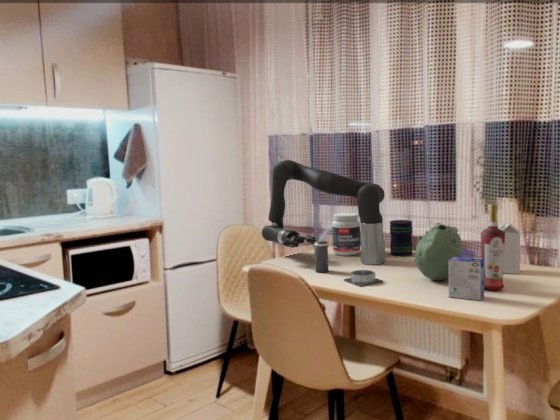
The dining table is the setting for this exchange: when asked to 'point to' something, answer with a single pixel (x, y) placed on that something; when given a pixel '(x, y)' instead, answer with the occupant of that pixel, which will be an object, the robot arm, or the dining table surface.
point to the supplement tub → (346, 234)
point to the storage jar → (401, 238)
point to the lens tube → (321, 256)
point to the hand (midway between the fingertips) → (306, 243)
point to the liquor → (493, 252)
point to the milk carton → (511, 249)
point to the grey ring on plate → (363, 278)
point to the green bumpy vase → (437, 251)
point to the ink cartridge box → (466, 277)
